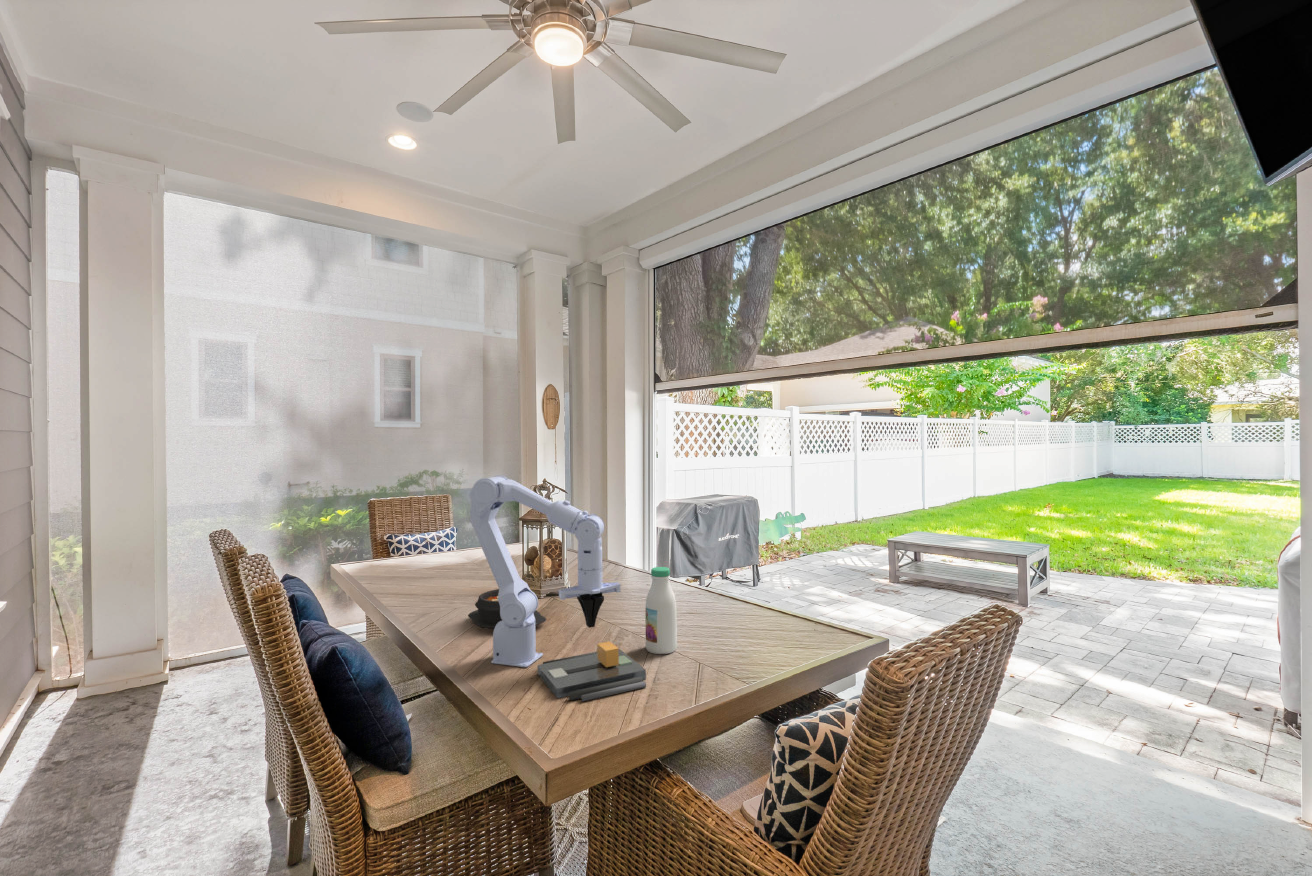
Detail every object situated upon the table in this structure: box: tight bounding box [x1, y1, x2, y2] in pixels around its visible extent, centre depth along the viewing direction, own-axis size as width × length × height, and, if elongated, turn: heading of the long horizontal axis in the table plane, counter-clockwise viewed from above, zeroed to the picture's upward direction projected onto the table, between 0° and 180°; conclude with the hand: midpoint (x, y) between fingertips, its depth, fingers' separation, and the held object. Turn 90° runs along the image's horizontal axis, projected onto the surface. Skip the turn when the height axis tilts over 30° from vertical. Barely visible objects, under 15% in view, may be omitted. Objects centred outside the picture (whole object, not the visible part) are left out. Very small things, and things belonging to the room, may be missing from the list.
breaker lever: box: [596, 641, 619, 667], centre depth 133 cm, size 3×5×4 cm, turn 27°
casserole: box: [467, 588, 547, 630], centre depth 168 cm, size 25×19×8 cm
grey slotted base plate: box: [542, 651, 647, 703], centre depth 130 cm, size 16×21×2 cm
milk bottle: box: [644, 566, 678, 655], centre depth 147 cm, size 8×8×20 cm
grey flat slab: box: [537, 648, 647, 700], centre depth 131 cm, size 20×14×2 cm
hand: (590, 626), depth 139 cm, fingers closed
